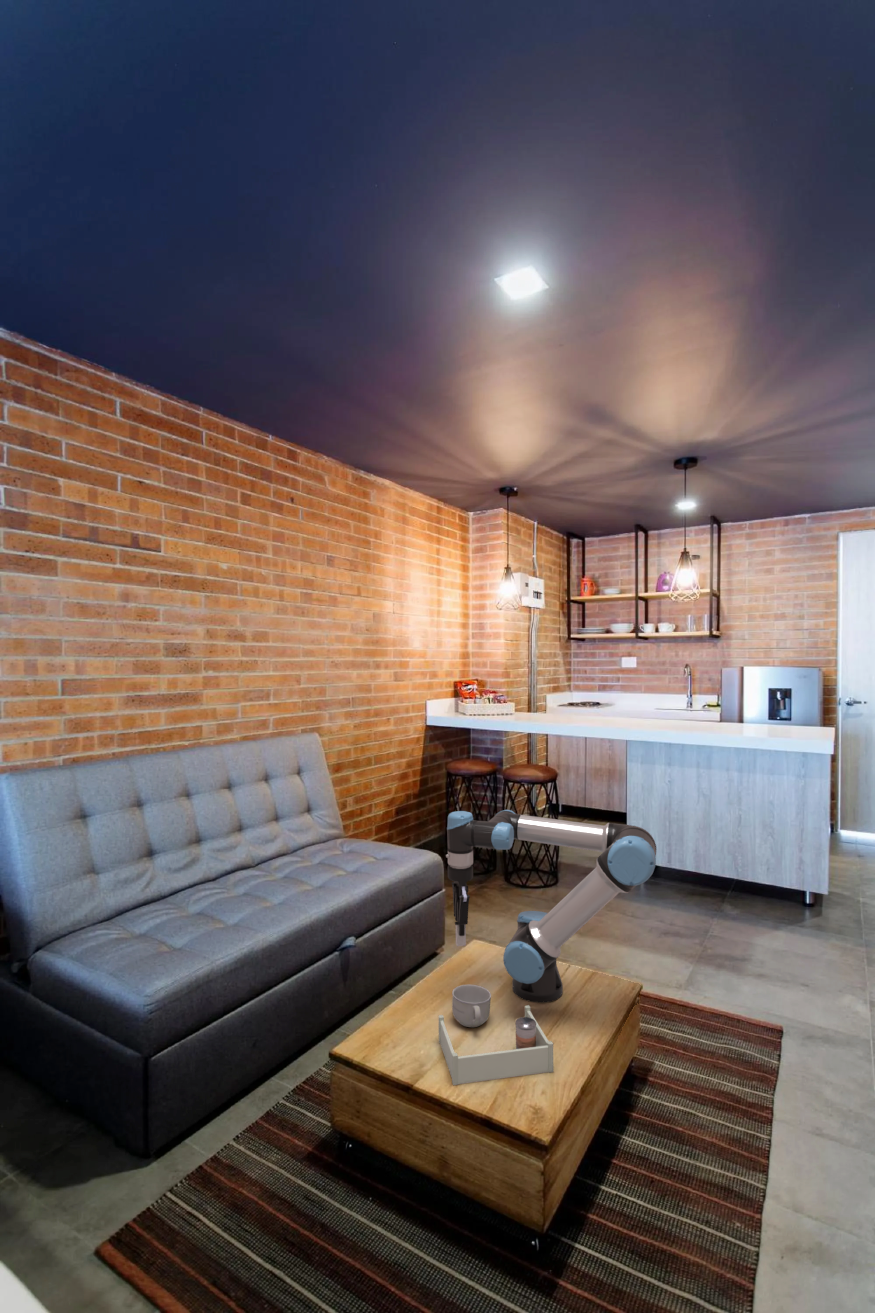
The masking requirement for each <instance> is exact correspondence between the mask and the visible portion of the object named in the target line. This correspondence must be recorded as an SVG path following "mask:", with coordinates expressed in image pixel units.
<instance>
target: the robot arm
mask: <svg viewBox="0 0 875 1313" xmlns="http://www.w3.org/2000/svg"><path fill="white" fill-rule="evenodd" d="M446 832H447V833H446V834H447V854H445V858H447V864H448V866H447V878H448V879H449V881H452V882H451V887H452V888H451V889H452V900H453V901H452V904H453V906H452V907H453V917H454V919H455V921H454V926H455V945H456V947H464V946H466V945H467V933H466V932H467V931H466V930H467V929H466V928H467V926H466V925H468V923H469V921H468V920H469V919H468V918H469V904H470V903H469V902H470V898H471V896H470V894H468V893H469V885H468V884H467V882H469V881H471V880H472V879H473V878H474V867H473V864H474V848H482V849H483V848H485V849H491V850H492V849H493V850H497V851H501V850H505V851H506V850H510V849H512V847H513V843H514V840H517V841H518V840H519V841H527V842H534V843H539V844H547V845H553V846H557V847H558V846H559V847H566V848H571V849H573V848H574V849H579V850H588V851H591V852H598V853H601V854H599V855H598V857H597V858H596V867H595V868H594V869H593V870H592V871H590V873H588V874H587V875H586V876H585V877H584V878H583V879H582V880H581V881H580V882H579V883H578V884H576V886H575V887H574V888H572V889H571V891H570V892H569V893H567V895H566V896H564V897H563V898H562V899H561V900H560V901H559V902H558V903H557V904H556V905H555V906H554V907H553V908H551V910H550V911H549V912H545V911H539V910H524V911H521V912H519V914H518V915H517V920H516V922H517V929H516V931H515V933H514V934H513V936H512V937H511V939H510V941H509V942H508V943H507V945H506V946H505V948H504V952H503V965H504V968H505V970H506V972H507V973H508V974H509V975H510V977H512V983H511V984H512V986H511V987H512V992H513V993H514V995H516V997H518V998H520V999H522V1000H525V1001H528V1002H532V1003H551V1002H555V1001H556V1000H558V999H559V998H561V997H562V995H563V987H564V986H563V981H562V978H561V976H560V973H559V972H560V971H559V969H558V966H557V965H558V963H557V959H558V958H559V957H560V955H561V953H562V952H561V948H562V946H563V945H565V943H567V941H569V939H570V938H572V937H573V936H574V935H575V934H576V933H577V932H578V931H579V930H581V928H582V927H584V926H585V925H586V924H587V923H588V922H589V921H590V920H592V918H593V917H595V916H596V914H598V913H599V912H600V911H601V910H602V909H604V907H605V906H606V905H607V904H608V903H609V902H611V901H612V900H613V899H614V898H615V897H616V896H618V895H619V893H623V894H624V893H625V894H629V892H631V891H632V890H634V888H635V887H636V886H640V885H642V884H644V883H645V882H647V881H648V880H649V879H650V877H652V875H653V873H654V871H655V868H656V865H657V864H656V862H657V845H656V842H655V839H654V838H653V836H652V834H651V833H649V831H647V830H646V829H644V828H642V827H641V826H636V825H630V824H622V823H615V822H607V823H606V824H604V825H602V824H601V825H600V824H594V823H587V822H586V823H585V822H578V821H571V820H566V819H565V820H563V819H556V818H549V817H542V816H533V815H526V814H525V815H524V814H519V813H515V812H514V811H513V810H511V809H504V810H503V809H502V810H500V811H499V812H497V813H495V815H494V816H493V817H492V818H491V819H490V820H488V821H486V820H477V819H475V820H474V817H473V813H472V812H469V811H466V810H457V811H452V812H450V813H448V816H447V827H446Z"/></svg>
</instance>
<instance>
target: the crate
mask: <svg viewBox="0 0 875 1313" xmlns="http://www.w3.org/2000/svg"><path fill="white" fill-rule="evenodd" d="M524 1017H529V1018H532V1019H533V1020H535V1022H536V1047H530V1048H522V1049H516V1048H514V1049H506V1050H499V1051H492V1052H484V1053H477V1054H476V1053H475V1054H468V1055H458V1053H457V1052H455V1050H454V1047H453V1044H452V1042H451V1039H450V1035H449V1033H448V1030H447V1027H446V1025H445V1017H444V1015H443V1014H439V1015H438V1043H439V1045H440V1047H441V1050H442V1053H443V1056H444V1059H445V1062H446V1066H447V1069H448V1072H449V1074H450V1077H451V1083H452V1085H453V1086H458V1085H462V1084H463V1085H464V1084H469V1083H476V1082H486V1081H492V1080H493V1081H494V1080H499V1079H508V1078H514V1077H522V1076H530V1075H536V1074H543V1073H544V1074H545V1073H549V1074H550V1073H554V1043H553V1042H552V1040H550V1041H549V1039H548V1037H547V1036H546V1034H545V1033H544V1031H543V1030H542V1028H541V1026H540V1025H539V1023H538V1021H537V1020H536V1018H535V1017H534V1015H533V1013H532V1011H531V1006H530V1005H529V1004H528V1005H524Z"/></svg>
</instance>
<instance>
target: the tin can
mask: <svg viewBox="0 0 875 1313" xmlns="http://www.w3.org/2000/svg"><path fill="white" fill-rule="evenodd" d="M535 1020H536V1019H535ZM535 1020H533V1019H532V1018H529V1017H525V1016H522V1017H519V1018H516V1019H515V1049H522V1048H530V1047H536V1022H535Z"/></svg>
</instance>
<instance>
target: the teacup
mask: <svg viewBox="0 0 875 1313" xmlns="http://www.w3.org/2000/svg"><path fill="white" fill-rule="evenodd" d="M451 996H452V997H451V1000H452V1001H451V1008H452V1010H451V1011H452V1015H453V1017H454V1019H455V1020H456V1021H457V1022H458V1023H459V1024H460V1025H461V1026H463V1027H466V1028H467V1027H468V1028H477V1027H480V1026H482V1025H483V1024H484V1023H485V1022H487V1021H488V1019H489V1016H490V1010H491V999H492V993H491V992H490V990H488V988H486V987H484V986H480V985H477V984H470V983H469V984H461V985H458V986H456V987H454V988H453V990H452V992H451Z"/></svg>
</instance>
